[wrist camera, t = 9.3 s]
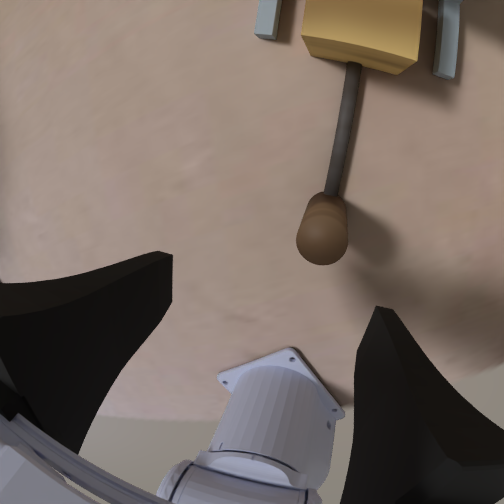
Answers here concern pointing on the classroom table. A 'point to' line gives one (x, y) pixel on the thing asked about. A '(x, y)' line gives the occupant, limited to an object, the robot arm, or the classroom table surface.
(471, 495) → the robot arm
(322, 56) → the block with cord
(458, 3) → the shelf
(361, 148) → the classroom table surface
